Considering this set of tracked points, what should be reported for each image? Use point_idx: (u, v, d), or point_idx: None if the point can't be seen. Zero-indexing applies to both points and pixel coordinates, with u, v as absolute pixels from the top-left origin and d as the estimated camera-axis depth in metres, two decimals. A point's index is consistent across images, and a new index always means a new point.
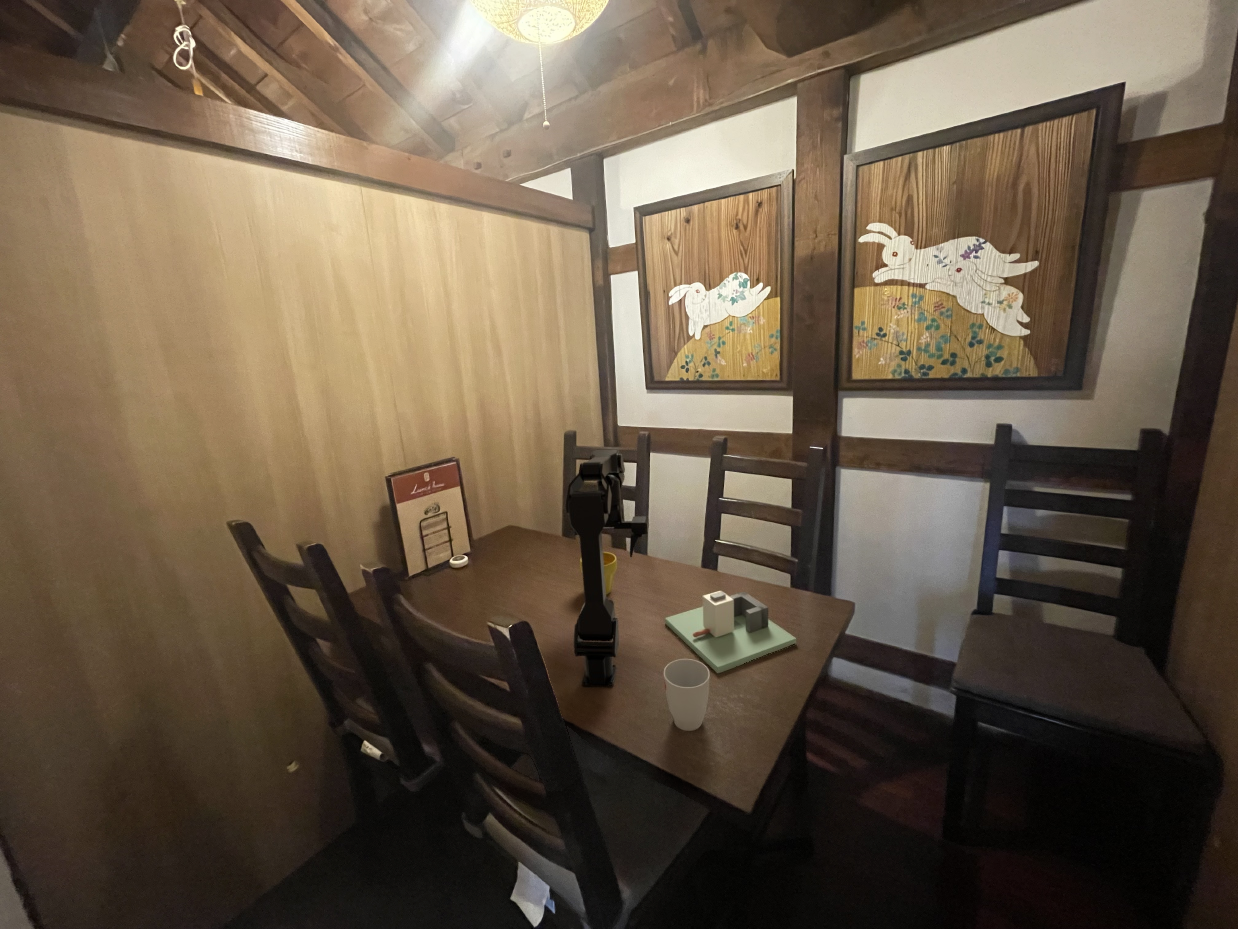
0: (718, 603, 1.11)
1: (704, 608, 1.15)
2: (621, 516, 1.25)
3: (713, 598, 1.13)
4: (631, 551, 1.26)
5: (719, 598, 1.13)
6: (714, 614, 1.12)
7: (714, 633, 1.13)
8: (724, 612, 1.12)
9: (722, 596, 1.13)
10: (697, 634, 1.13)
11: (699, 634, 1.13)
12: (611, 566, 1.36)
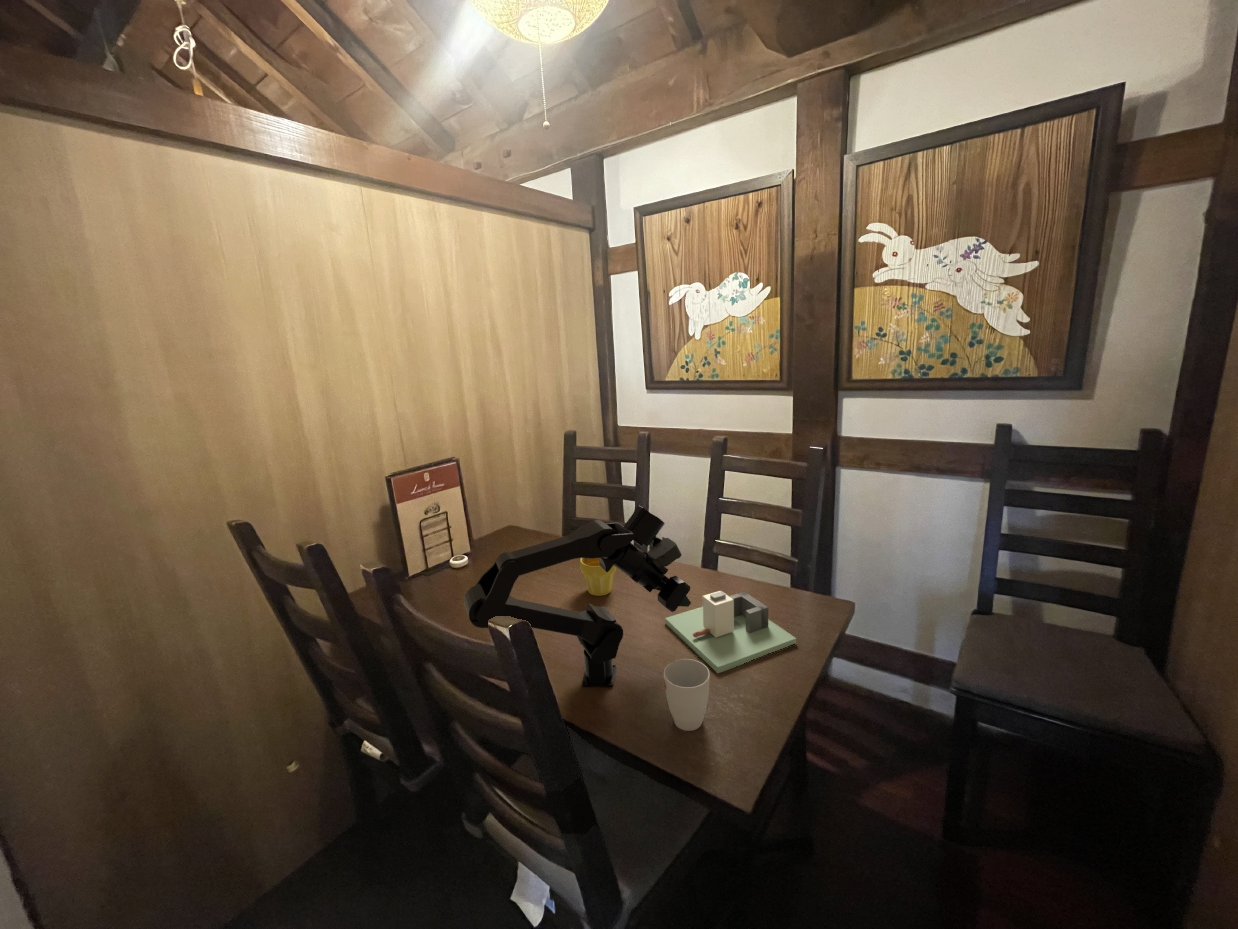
0: (718, 603, 1.11)
1: (704, 608, 1.15)
2: (653, 579, 1.02)
3: (713, 598, 1.13)
4: None
5: (719, 598, 1.13)
6: (714, 614, 1.12)
7: (714, 633, 1.13)
8: (724, 612, 1.12)
9: (722, 596, 1.13)
10: (697, 634, 1.13)
11: (699, 634, 1.13)
12: None
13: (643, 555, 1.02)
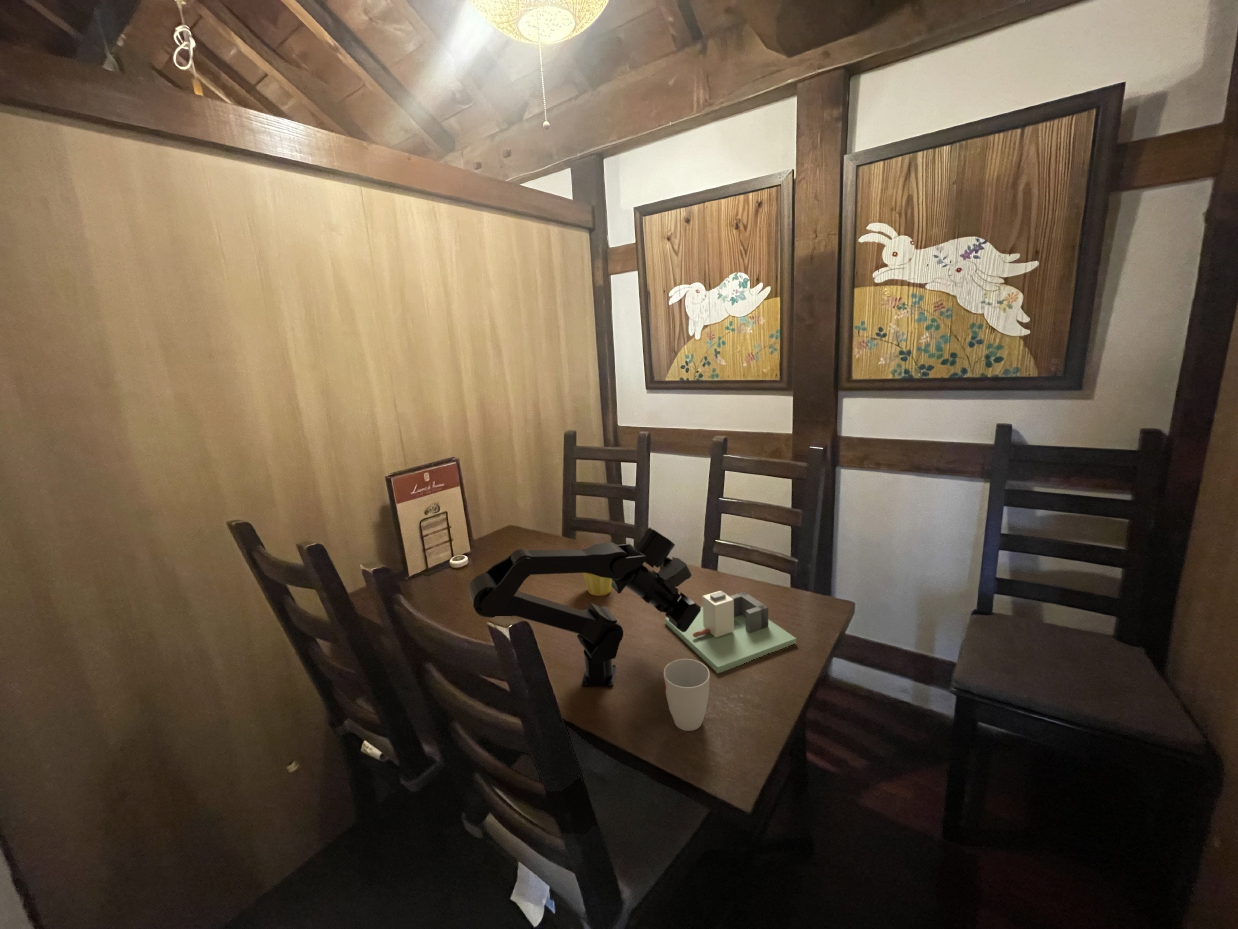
0: (718, 603, 1.11)
1: (704, 608, 1.15)
2: (664, 600, 1.04)
3: (713, 598, 1.13)
4: None
5: (719, 598, 1.13)
6: (714, 614, 1.12)
7: (714, 633, 1.13)
8: (724, 612, 1.12)
9: (722, 596, 1.13)
10: (697, 634, 1.13)
11: (699, 634, 1.13)
12: None
13: (654, 576, 1.04)
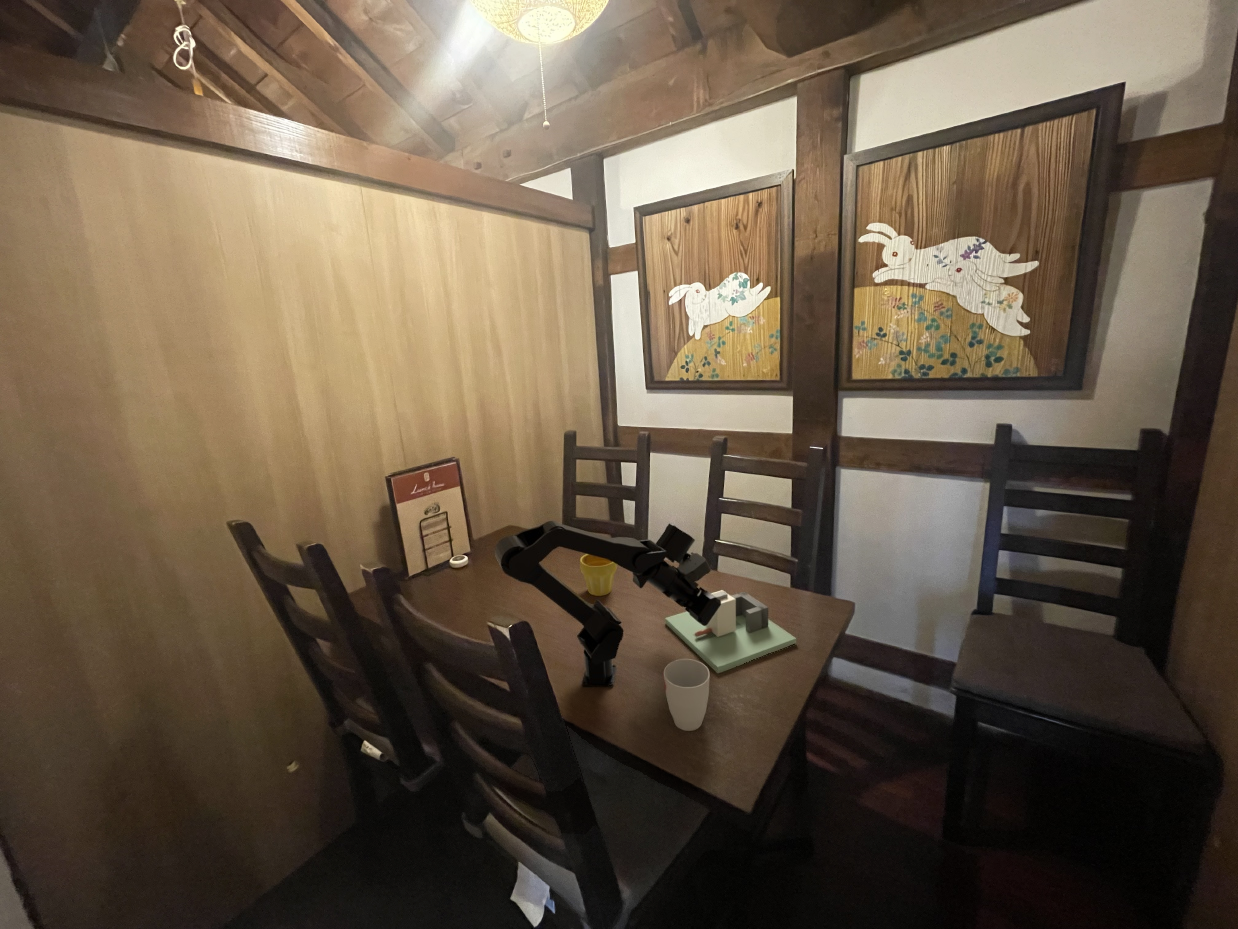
0: None
1: None
2: (684, 594, 1.06)
3: None
4: None
5: (721, 597, 1.13)
6: (716, 614, 1.12)
7: (715, 632, 1.13)
8: (726, 611, 1.12)
9: (724, 595, 1.13)
10: (699, 633, 1.13)
11: (701, 633, 1.13)
12: (611, 566, 1.36)
13: (674, 571, 1.05)
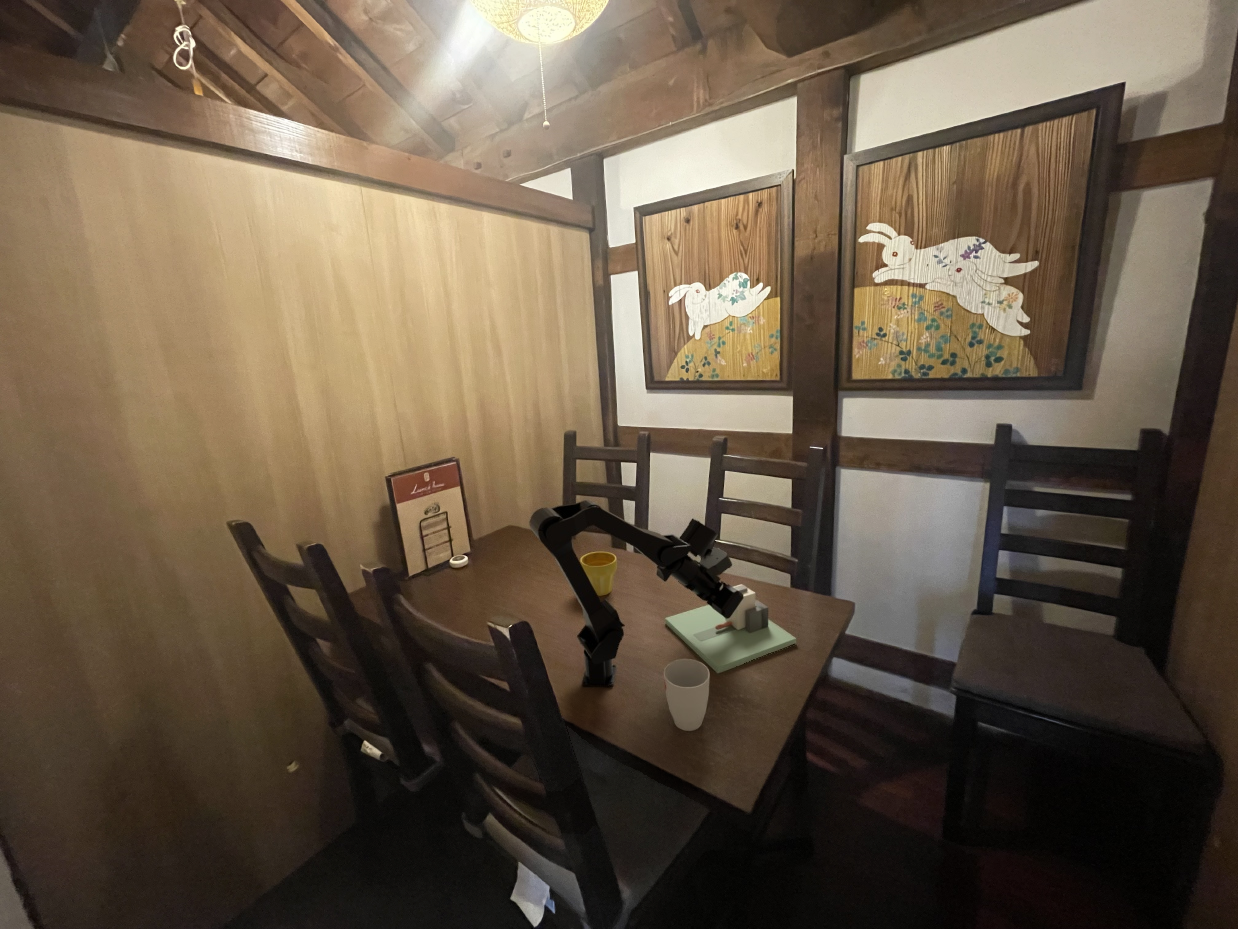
0: None
1: None
2: (707, 588, 1.08)
3: None
4: None
5: (741, 591, 1.15)
6: None
7: (736, 626, 1.15)
8: (746, 605, 1.14)
9: (744, 589, 1.15)
10: (719, 627, 1.15)
11: (721, 627, 1.15)
12: (611, 566, 1.36)
13: (697, 565, 1.08)
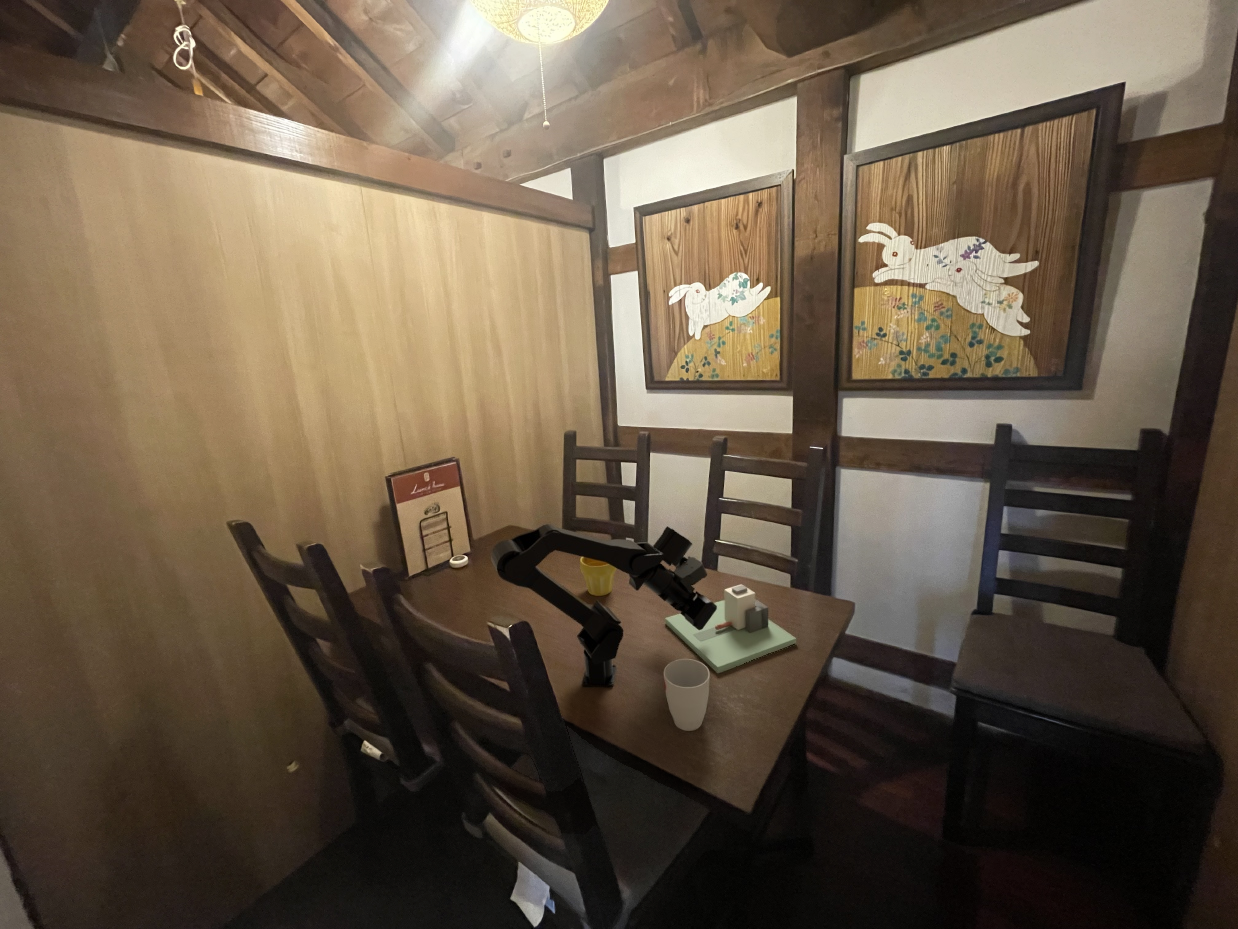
0: (740, 596, 1.14)
1: (726, 601, 1.17)
2: (680, 598, 1.06)
3: (735, 591, 1.15)
4: None
5: (741, 591, 1.15)
6: (736, 607, 1.14)
7: (735, 626, 1.15)
8: (746, 605, 1.14)
9: (744, 589, 1.15)
10: (719, 627, 1.15)
11: (721, 627, 1.15)
12: (611, 566, 1.36)
13: (671, 574, 1.05)
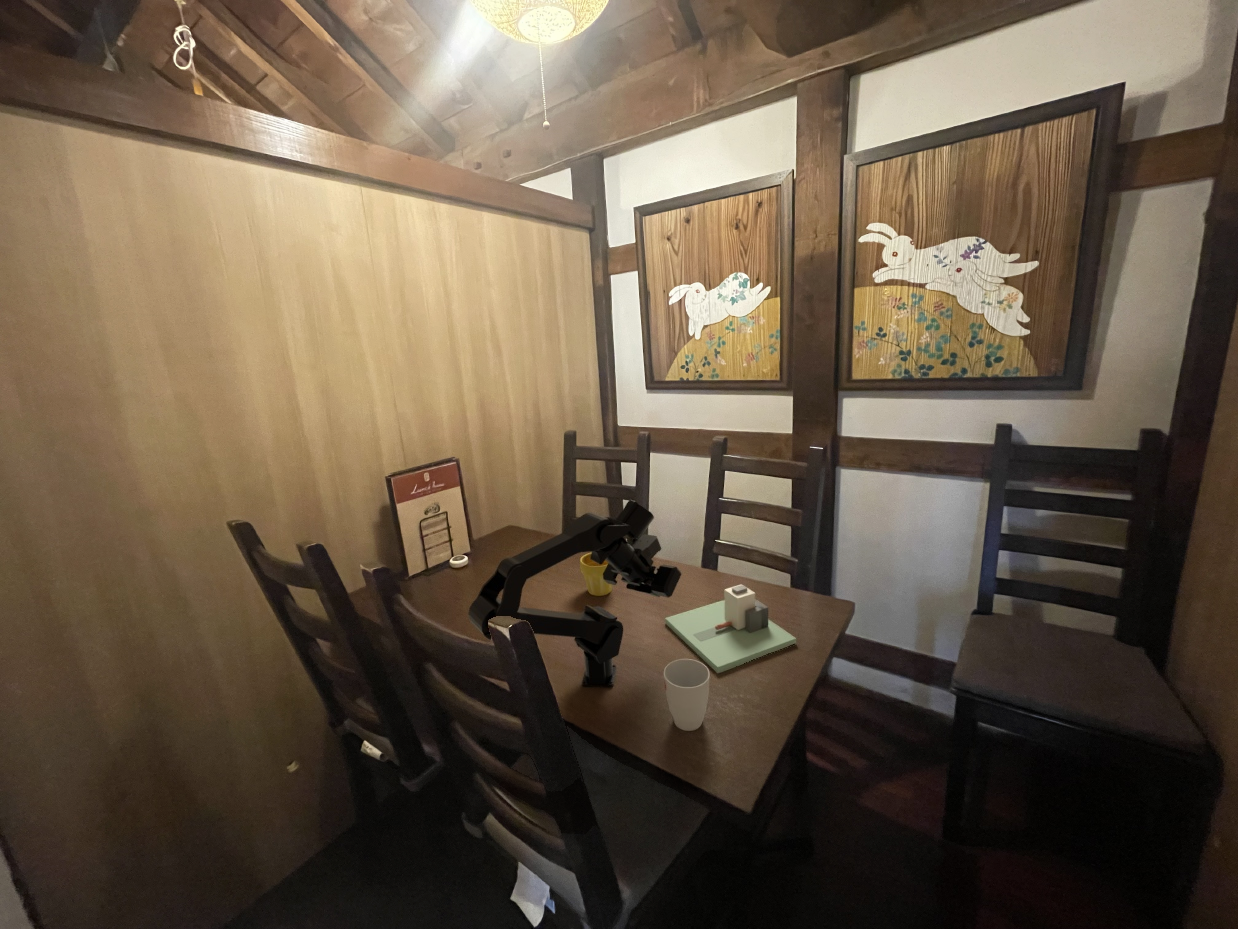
0: (740, 596, 1.14)
1: (726, 601, 1.17)
2: (642, 571, 1.04)
3: (735, 591, 1.15)
4: (654, 595, 1.10)
5: (741, 591, 1.15)
6: (736, 607, 1.14)
7: (735, 626, 1.15)
8: (746, 605, 1.14)
9: (744, 589, 1.15)
10: (719, 627, 1.15)
11: (721, 627, 1.15)
12: None
13: (632, 547, 1.03)
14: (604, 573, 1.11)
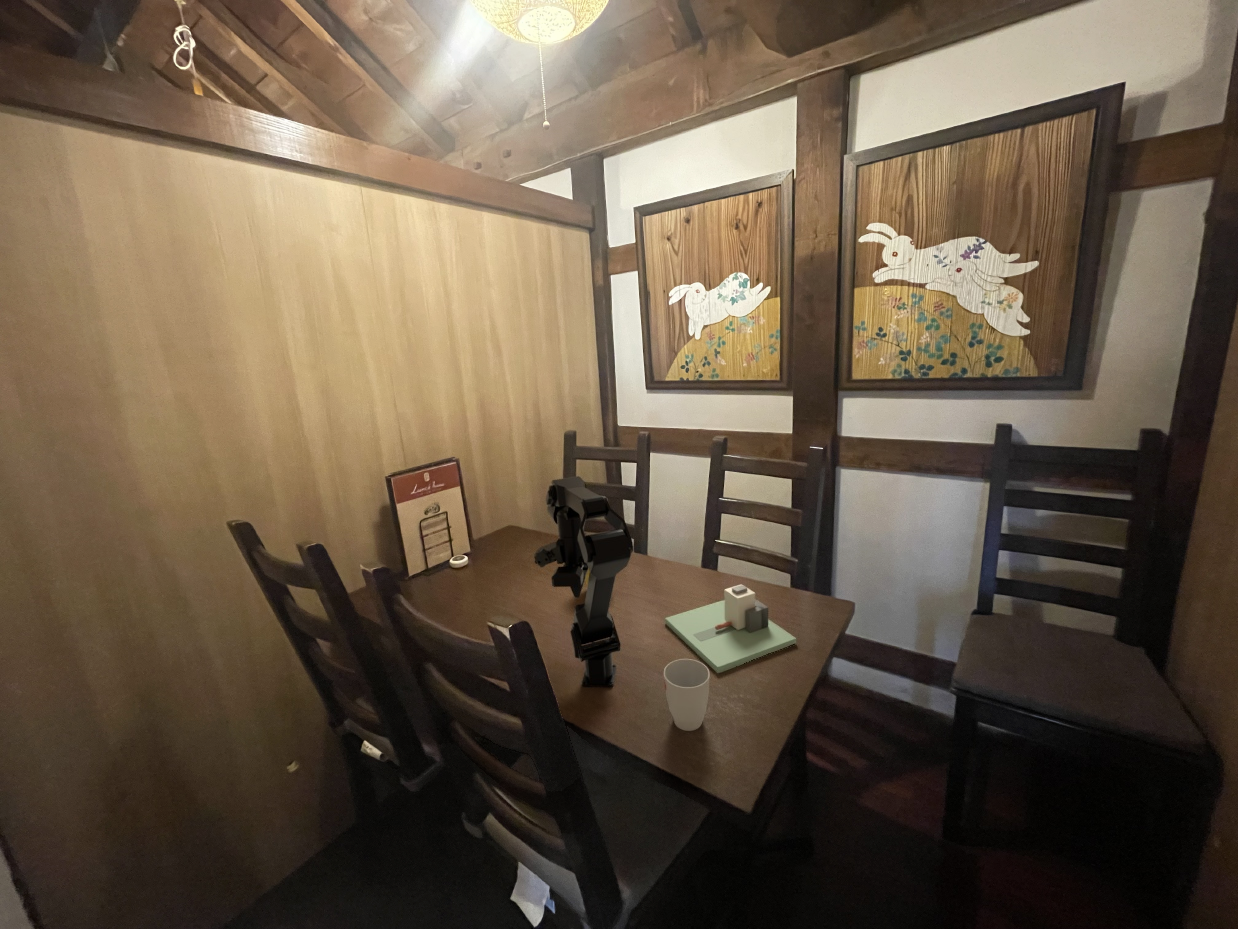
0: (740, 596, 1.14)
1: (726, 601, 1.17)
2: None
3: (735, 591, 1.15)
4: None
5: (741, 591, 1.15)
6: (736, 607, 1.14)
7: (735, 626, 1.15)
8: (746, 605, 1.14)
9: (744, 589, 1.15)
10: (719, 627, 1.15)
11: (721, 627, 1.15)
12: None
13: None
14: (575, 572, 1.03)
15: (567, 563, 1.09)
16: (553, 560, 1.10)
